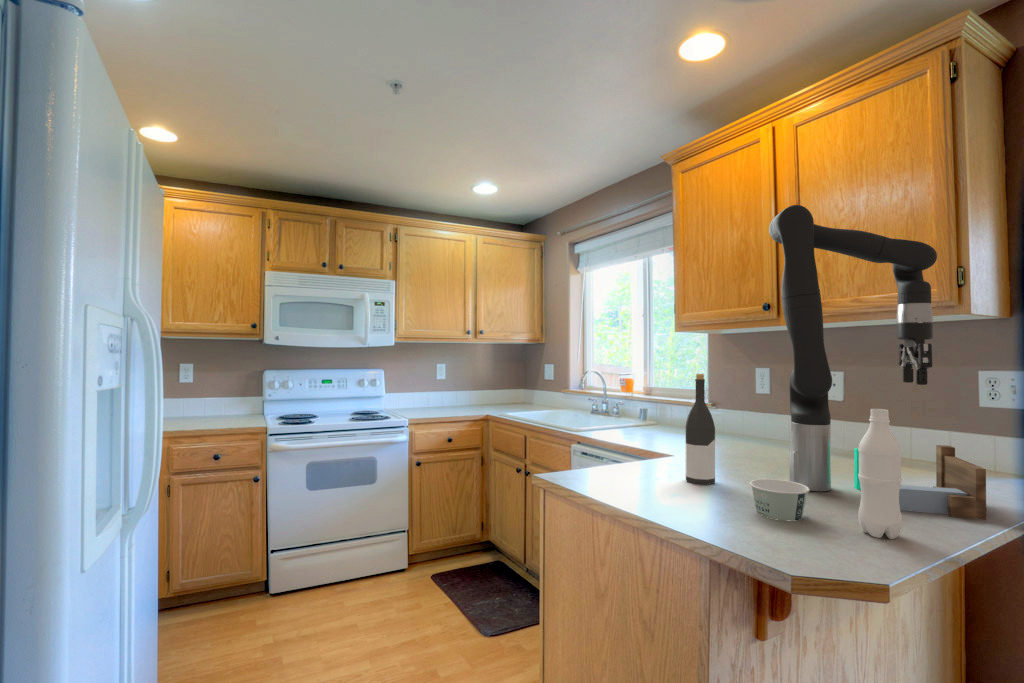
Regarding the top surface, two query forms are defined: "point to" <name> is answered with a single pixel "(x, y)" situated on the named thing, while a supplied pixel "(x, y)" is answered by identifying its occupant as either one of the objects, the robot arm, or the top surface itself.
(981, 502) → the wooden holder stand
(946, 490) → the light blue rectangular bar
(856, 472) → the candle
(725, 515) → the top surface
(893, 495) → the water bottle
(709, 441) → the wine bottle
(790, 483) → the food container
